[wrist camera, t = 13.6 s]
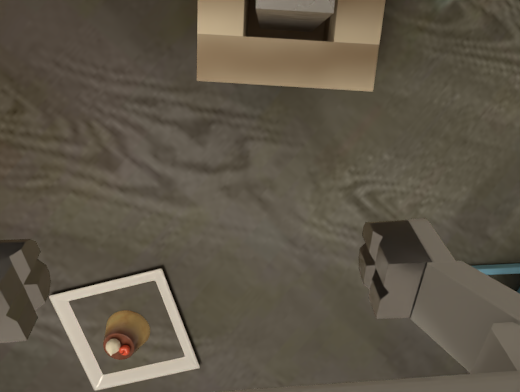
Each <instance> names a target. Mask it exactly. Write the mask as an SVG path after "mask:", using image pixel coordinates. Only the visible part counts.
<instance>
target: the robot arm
mask: <svg viewBox="0 0 520 392" xmlns="http://www.w3.org/2000/svg"><path fill="white" fill-rule="evenodd" d="M362 236H363V238H364V241H365V244H364V245H363V246H362V247H361V248H360V251H359V271H360V275H361V279H362V282H363V284H364V285H365V286H367V287H368V288H369V289H370V292H369V297H368V298H369V301H370V303H371V306H372V308H373V311H374V314H375V316H376V319H385V318H411V320H412V321H413V322H414V323H415V324H416V325H418V326H419V327H420V328H421V329H422V330H423V331H424V332H425V333H426V334H427V335H429V336H430V337H431V338H432V339H433V340H434V341H435V342H436V343H437V344H439V345H440V346H441V347H442V348H443V349H444V350H445V351H446V352H447V353H449V354H450V355H451V356H452V357H453V358H454V359H455V360H456V361H457V362H459V363H460V364H461V365H462V366H463V367H464V368H465V369H466V370H467V371H468V372H470V374H462V375H447V376H433V377H418V378H404V379H389V380H375V381H360V382H346V383H332V384H317V385H303V386H289V387H275V388H260V389H246V390H232V391H217V392H520V294H519V293H518V292H516V291H514V290H512V289H511V288H509V287H507V286H505V285H504V284H502V283H500V282H498V281H496V280H495V279H493V278H491V277H489V276H488V275H486V274H484V273H482V272H481V271H479V270H477V269H475V268H473V267H472V266H470V265H468V264H466V263H465V262H463V261H455V259H454V258H453V256H452V255H451V253H450V252H449V250H448V249H447V247H446V246H445V244H444V243H443V241H442V240H441V238H440V237H439V236H438V234H437V233H436V231H435V230H434V228H433V227H432V225H431V224H430V222H429V221H428V220H427V219H425V218H418V219H405V220H397V221H379V222H366V223H365V225H364V227H363V232H362ZM40 252H41V251H40V249H39V247H38V244H37V242H36V241H34V240H31V239H19V240H0V343H5V342H16V341H27V340H28V337H29V335H30V333H31V331H32V329H33V327H34V325H35V323H36V321H37V319H38V316H37V314H36V312H35V310H36V309H37V308H39V307H40V306H41V305H43V304H44V303H45V302H46V299H47V297H48V295H49V292H50V284H51V279H50V272H49V270H48V267H47V265H46V264H44V263H43V262H41V261H40V260H39V259H37V258H38V256H39V254H40Z"/></svg>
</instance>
